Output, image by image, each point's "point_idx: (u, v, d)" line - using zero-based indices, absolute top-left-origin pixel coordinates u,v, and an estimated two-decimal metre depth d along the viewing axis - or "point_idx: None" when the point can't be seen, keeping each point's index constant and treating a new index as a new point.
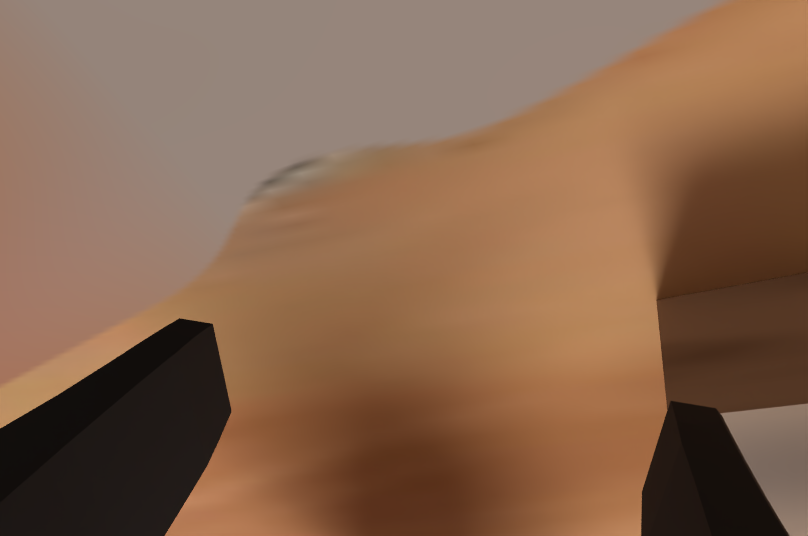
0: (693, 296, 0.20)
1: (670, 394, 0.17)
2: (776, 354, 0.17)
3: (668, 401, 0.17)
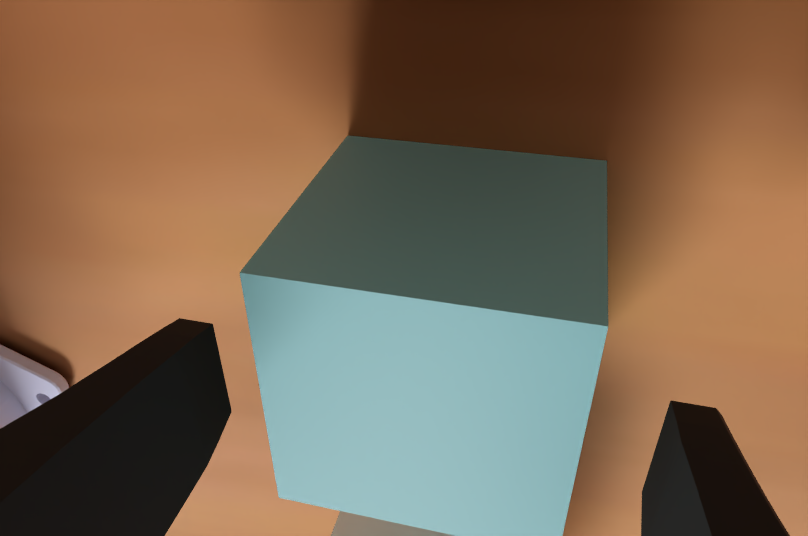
0: None
1: None
2: None
3: None
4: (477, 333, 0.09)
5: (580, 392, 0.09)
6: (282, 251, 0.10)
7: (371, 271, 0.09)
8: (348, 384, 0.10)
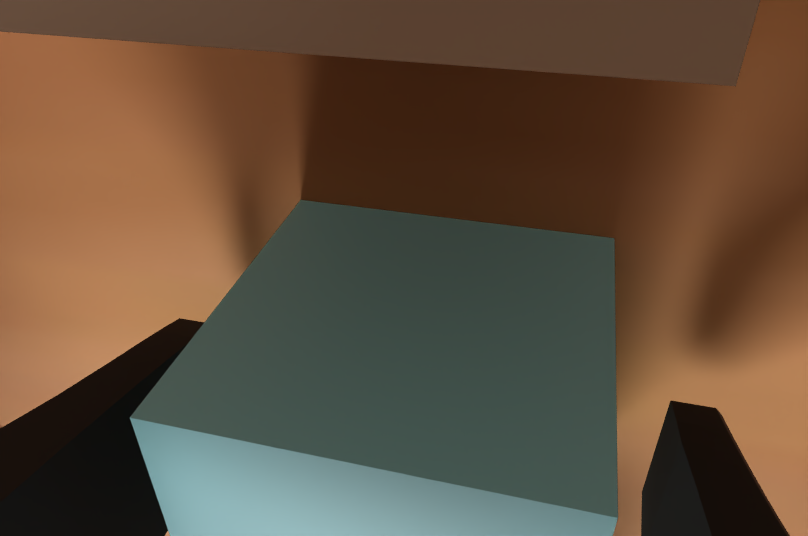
0: None
1: None
2: None
3: None
4: (440, 510, 0.07)
5: None
6: (191, 380, 0.08)
7: (305, 417, 0.07)
8: None
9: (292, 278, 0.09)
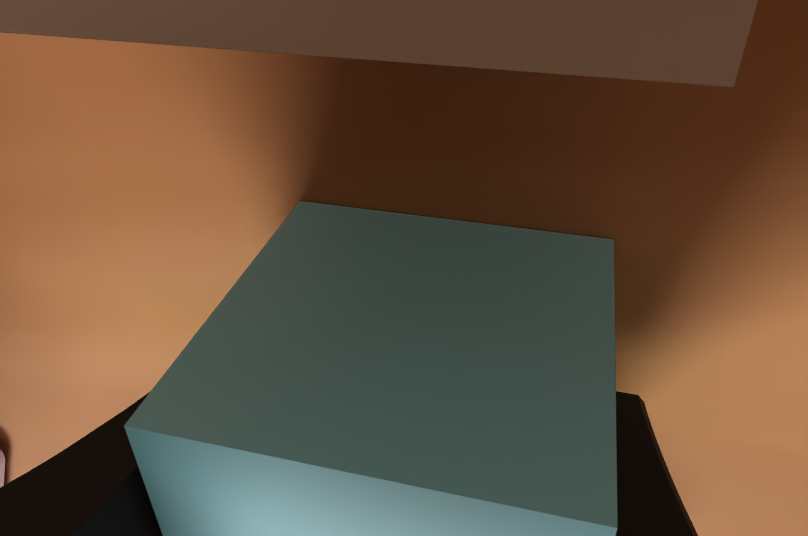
0: None
1: None
2: None
3: None
4: (437, 519, 0.07)
5: None
6: (186, 388, 0.07)
7: (301, 424, 0.07)
8: None
9: (289, 283, 0.09)
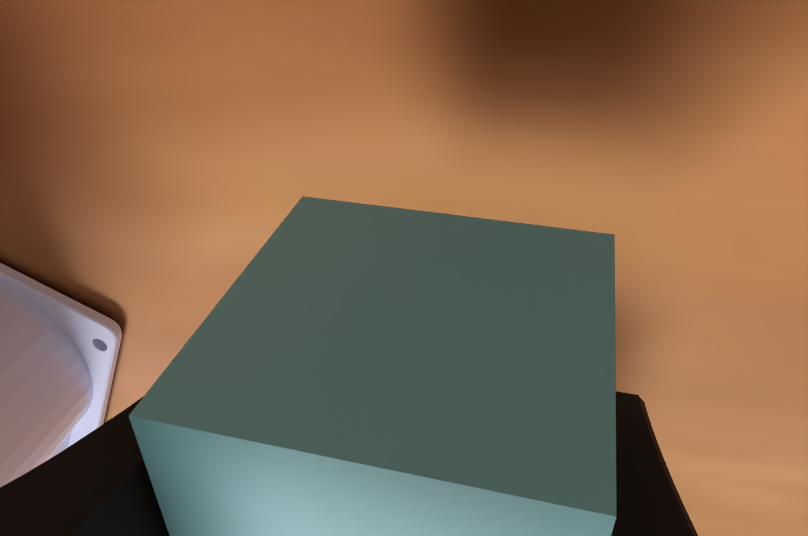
0: None
1: None
2: None
3: None
4: (439, 510, 0.07)
5: None
6: (190, 379, 0.08)
7: (303, 415, 0.07)
8: None
9: (292, 277, 0.09)
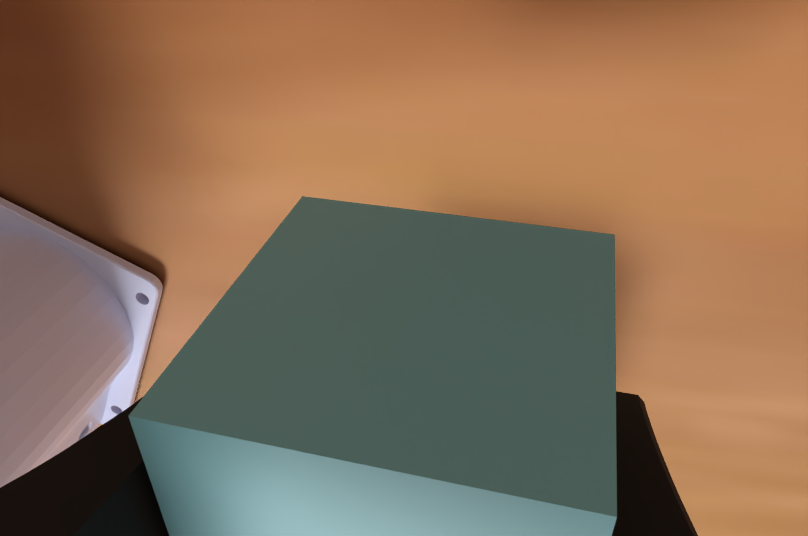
0: None
1: None
2: None
3: None
4: (439, 509, 0.07)
5: None
6: (190, 379, 0.07)
7: (303, 415, 0.07)
8: None
9: (291, 277, 0.09)
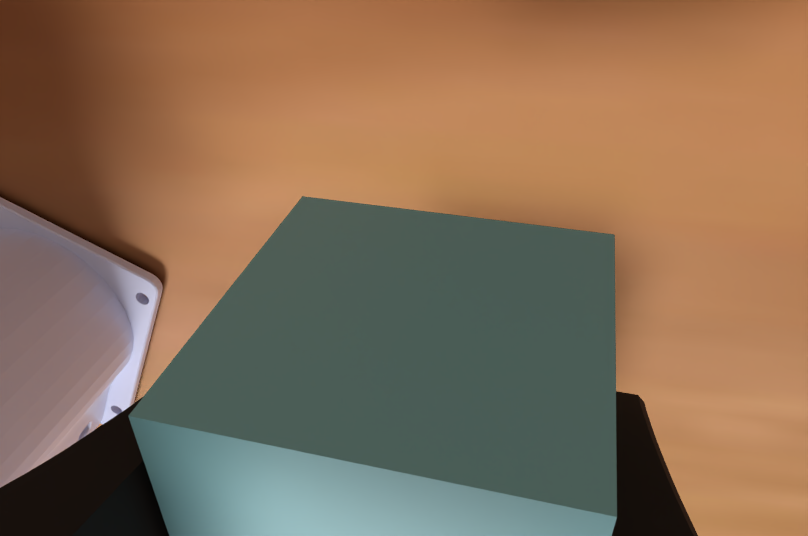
0: None
1: None
2: None
3: None
4: (439, 509, 0.07)
5: None
6: (190, 379, 0.07)
7: (303, 415, 0.07)
8: None
9: (291, 277, 0.09)
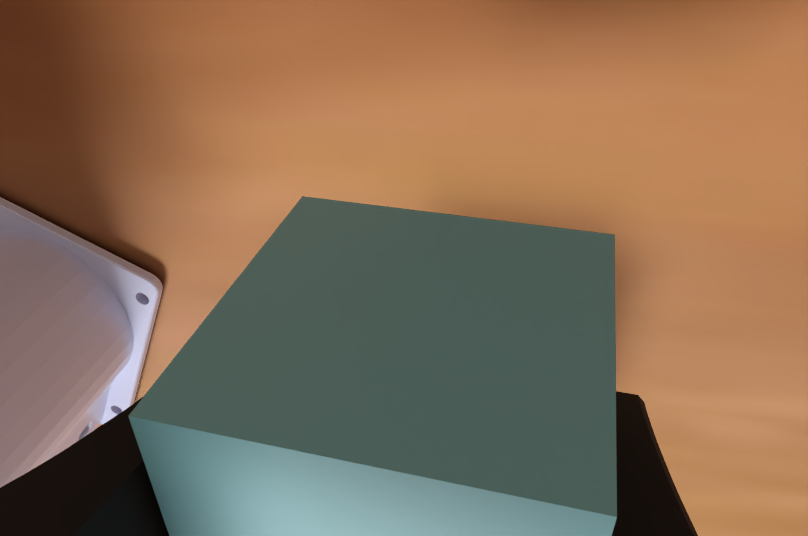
0: None
1: None
2: None
3: None
4: (439, 509, 0.07)
5: None
6: (190, 379, 0.07)
7: (303, 415, 0.07)
8: None
9: (291, 277, 0.09)
